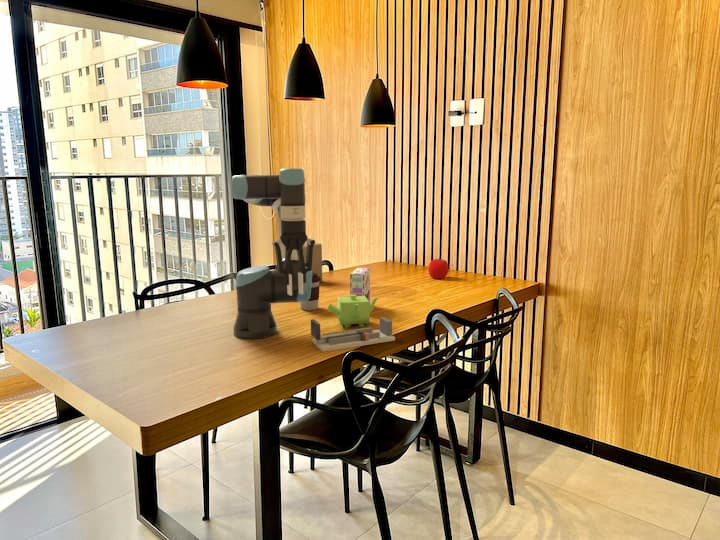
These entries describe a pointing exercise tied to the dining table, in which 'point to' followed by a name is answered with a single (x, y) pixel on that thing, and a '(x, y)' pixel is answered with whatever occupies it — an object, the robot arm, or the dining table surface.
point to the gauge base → (359, 337)
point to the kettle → (353, 310)
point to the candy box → (360, 282)
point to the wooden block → (315, 258)
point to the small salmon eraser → (366, 336)
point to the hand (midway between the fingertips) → (295, 293)
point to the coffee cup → (312, 294)
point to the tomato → (438, 268)
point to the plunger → (325, 338)
